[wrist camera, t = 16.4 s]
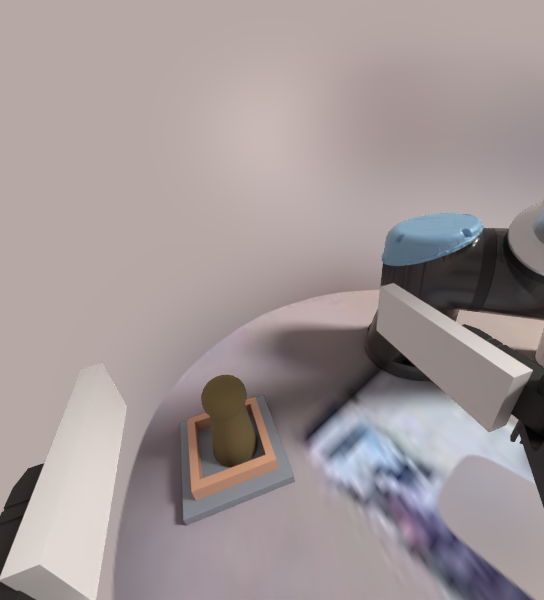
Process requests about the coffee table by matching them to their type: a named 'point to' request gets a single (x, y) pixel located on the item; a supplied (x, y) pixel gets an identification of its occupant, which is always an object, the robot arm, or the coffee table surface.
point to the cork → (229, 420)
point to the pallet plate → (229, 480)
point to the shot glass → (540, 351)
